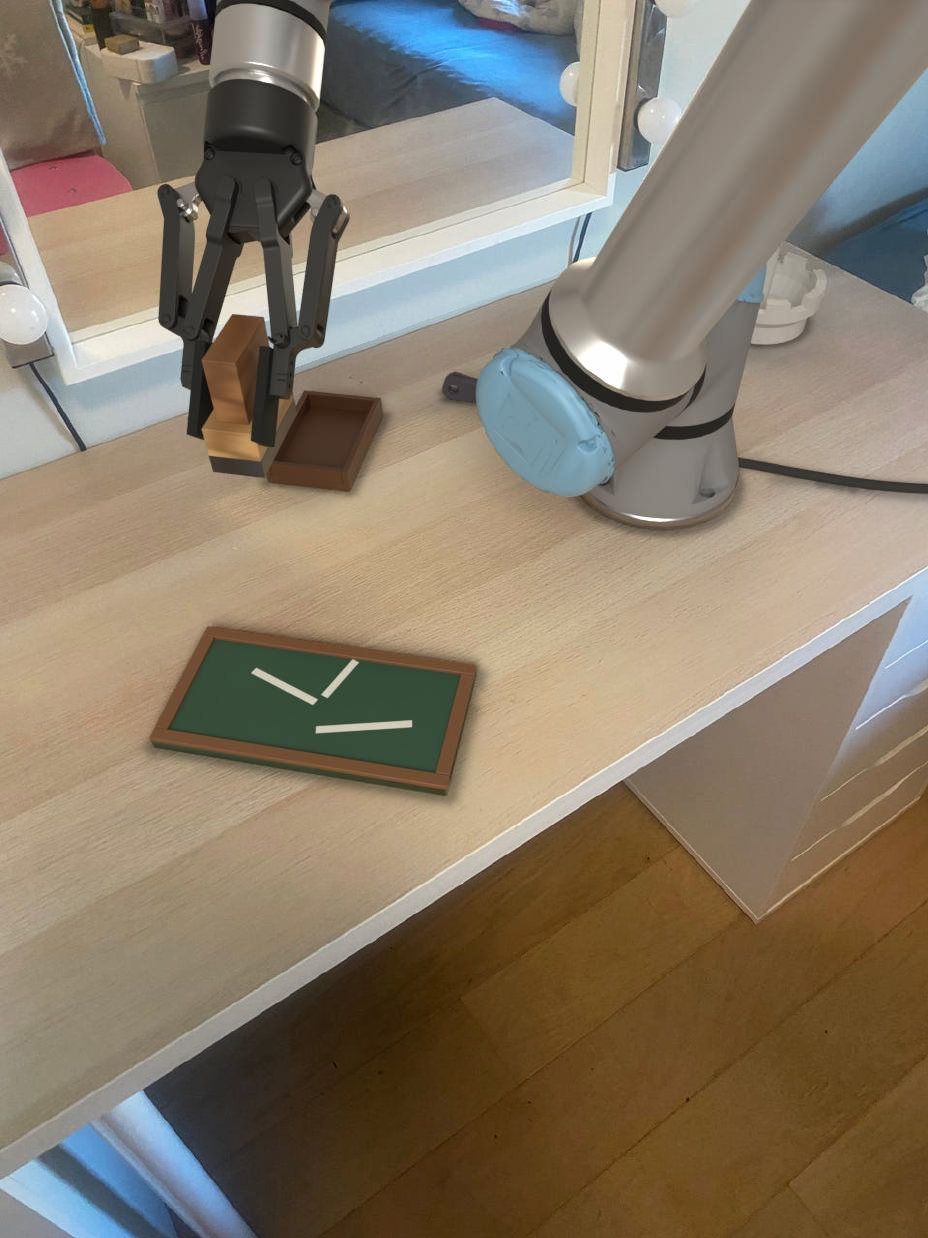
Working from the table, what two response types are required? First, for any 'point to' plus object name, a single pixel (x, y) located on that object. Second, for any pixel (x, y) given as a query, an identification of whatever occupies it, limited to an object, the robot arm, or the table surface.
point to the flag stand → (787, 299)
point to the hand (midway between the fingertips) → (231, 440)
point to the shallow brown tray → (327, 441)
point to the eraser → (239, 400)
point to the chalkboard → (320, 709)
